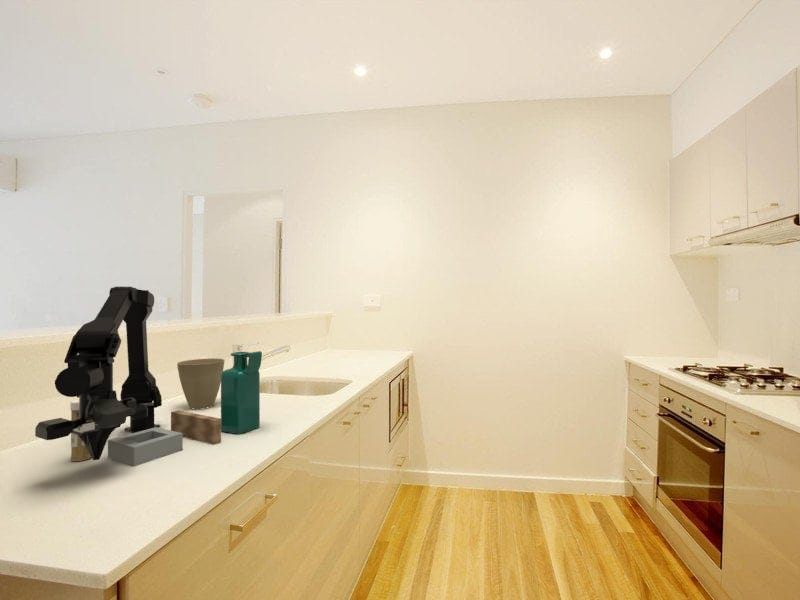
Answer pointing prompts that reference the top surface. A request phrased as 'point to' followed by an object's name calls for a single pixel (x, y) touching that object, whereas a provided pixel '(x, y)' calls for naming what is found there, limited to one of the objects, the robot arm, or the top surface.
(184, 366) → the plant pot
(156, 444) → the holder block
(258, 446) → the top surface
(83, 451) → the sprinkles bottle
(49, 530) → the top surface
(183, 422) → the walnut wall
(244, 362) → the pitcher
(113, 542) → the top surface
